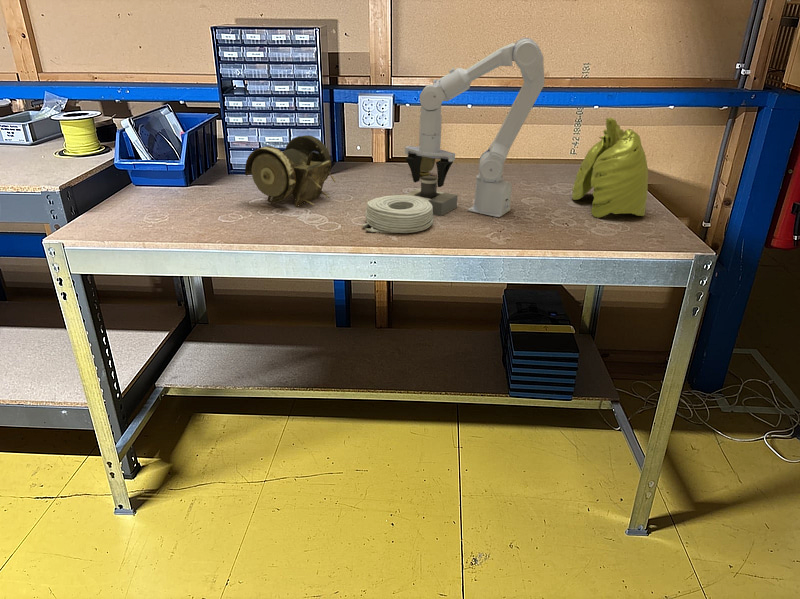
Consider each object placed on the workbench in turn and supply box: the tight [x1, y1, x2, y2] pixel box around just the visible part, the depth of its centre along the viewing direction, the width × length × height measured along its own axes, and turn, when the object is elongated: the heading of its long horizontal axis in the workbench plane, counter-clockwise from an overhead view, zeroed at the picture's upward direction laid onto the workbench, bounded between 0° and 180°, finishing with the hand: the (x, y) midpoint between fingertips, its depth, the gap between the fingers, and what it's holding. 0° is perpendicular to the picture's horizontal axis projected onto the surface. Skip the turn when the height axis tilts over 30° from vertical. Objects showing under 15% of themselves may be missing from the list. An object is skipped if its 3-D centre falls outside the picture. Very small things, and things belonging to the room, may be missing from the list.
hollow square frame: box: [404, 187, 459, 217], centre depth 162 cm, size 12×9×4 cm
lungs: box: [571, 117, 649, 219], centre depth 161 cm, size 25×16×24 cm, turn 6°
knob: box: [419, 175, 438, 199], centre depth 161 cm, size 5×5×7 cm
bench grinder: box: [244, 135, 336, 207], centre depth 162 cm, size 20×22×20 cm
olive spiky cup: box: [420, 156, 436, 178], centre depth 189 cm, size 8×7×8 cm
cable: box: [361, 194, 434, 234], centre depth 149 cm, size 18×18×6 cm
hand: (428, 183), depth 160 cm, fingers open, 7 cm apart
